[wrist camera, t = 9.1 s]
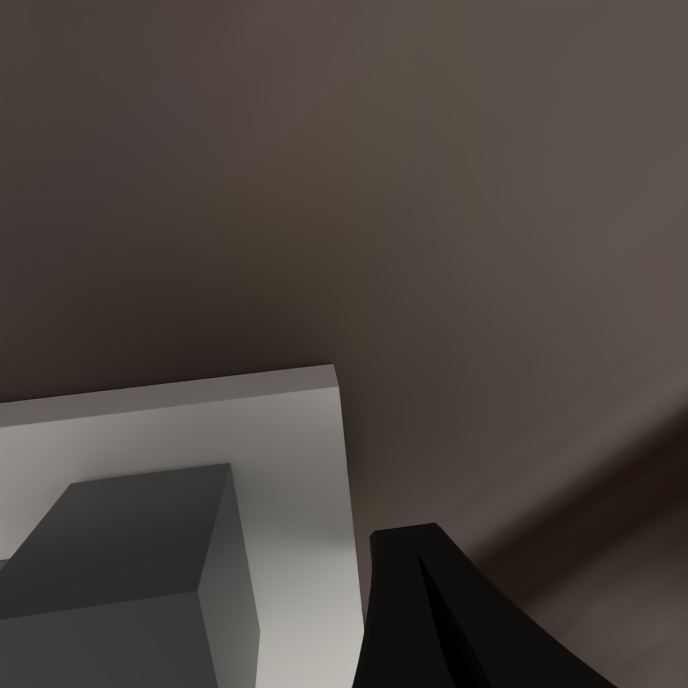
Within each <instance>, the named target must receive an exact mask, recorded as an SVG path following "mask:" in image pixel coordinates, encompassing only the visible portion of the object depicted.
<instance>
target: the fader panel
mask: <svg viewBox="0 0 688 688" xmlns="http://www.w3.org/2000/svg"><path fill="white" fill-rule="evenodd" d="M224 463H230V464H231V470H232V476H233V481H234V487H235V492H236V498H237V504H238V509H239V515H240V520H241V526H242V532H243V537H244V543H245V549H246V554H247V560H248V565H249V571H250V577H251V582H252V588H253V593H254V599H255V605H256V610H257V616H258V622H259V627H260V640H259V652H258V664H257V675H256V687H255V688H352V685H353V681H354V677H355V673H356V669H357V664H358V660H359V655H360V650H361V645H362V640H363V635H364V627H363V617H362V607H361V597H360V588H359V578H358V568H357V558H356V549H355V539H354V529H353V519H352V510H351V500H350V490H349V480H348V471H347V461H346V451H345V441H344V432H343V422H342V412H341V402H340V393H339V385H338V381H337V376H336V372H335V368H334V364H328V365H319V366H311V367H302V368H294V369H285V370H277V371H268V372H260V373H251V374H243V375H235V376H226V377H218V378H209V379H201V380H192V381H184V382H175V383H167V384H158V385H150V386H141V387H133V388H125V389H116V390H108V391H99V392H91V393H82V394H74V395H65V396H57V397H48V398H40V399H32V400H23V401H15V402H6V403H0V570H1V569H2V568H3V567H4V565H5V564H6V563H7V562H8V561H9V559H10V558H11V557H12V556H13V554H14V553H15V552H16V551H17V549H18V548H19V547H20V546H21V544H22V543H23V542H24V541H25V539H26V538H27V537H28V536H29V535H30V533H31V532H32V531H33V530H34V528H35V527H36V526H37V525H38V523H39V522H40V521H41V520H42V518H43V517H44V516H45V515H46V513H47V512H48V511H49V510H50V508H51V507H52V506H53V505H54V504H55V502H56V501H57V500H58V499H59V497H60V496H61V495H62V494H63V492H64V491H65V490H66V489H67V487H68V486H69V485H70V484H71V483H77V482H85V481H93V480H101V479H108V478H116V477H124V476H131V475H139V474H147V473H155V472H162V471H170V470H178V469H186V468H193V467H201V466H209V465H216V464H224Z"/></svg>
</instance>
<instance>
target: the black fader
mask: <svg viewBox="0 0 688 688" xmlns="http://www.w3.org/2000/svg"><path fill="white" fill-rule="evenodd" d="M259 640H260V627H259V622H258V616H257V610H256V605H255V599H254V593H253V588H252V582H251V577H250V571H249V565H248V560H247V554H246V549H245V543H244V537H243V532H242V526H241V520H240V515H239V509H238V504H237V498H236V492H235V487H234V481H233V476H232V470H231V464H230V463H224V464H216V465H209V466H201V467H193V468H186V469H178V470H170V471H162V472H155V473H147V474H139V475H131V476H124V477H116V478H108V479H101V480H93V481H85V482H77V483H71V484H70V485H69V486H68V487H67V489H66V490H65V491H64V492H63V494H62V495H61V496H60V497H59V499H58V500H57V501H56V502H55V504H54V505H53V506H52V507H51V508H50V510H49V511H48V512H47V513H46V515H45V516H44V517H43V518H42V520H41V521H40V522H39V523H38V525H37V526H36V527H35V528H34V530H33V531H32V532H31V533H30V535H29V536H28V537H27V538H26V539H25V541H24V542H23V543H22V544H21V546H20V547H19V548H18V549H17V551H16V552H15V553H14V554H13V556H12V557H11V558H10V559H9V561H8V562H7V563H6V564H5V565H4V567H3V568H2V569H1V570H0V688H255V687H256V675H257V664H258V652H259Z"/></svg>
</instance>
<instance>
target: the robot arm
mask: <svg viewBox="0 0 688 688" xmlns="http://www.w3.org/2000/svg"><path fill="white" fill-rule="evenodd" d="M369 538H370V549H371V560H372V579H371V589H370V597H369V605H368V613H367V620H366V625H365V630H364V635H363V640H362V645H361V650H360V655H359V660H358V664H357V669H356V673H355V677H354V681H353V685H352V688H618V687H616V686H615V685H613V684H612V683H610V682H609V681H608V680H607V679H605V678H604V677H603V676H601V675H600V674H599V673H597V672H596V671H595V670H593V669H592V668H591V667H589V666H588V665H587V664H585V663H584V662H583V661H582V660H580V659H579V658H578V657H576V656H575V655H574V654H573V653H571V652H570V651H569V650H568V649H566V648H565V647H564V646H563V645H562V644H560V643H559V642H558V641H557V640H556V639H554V638H553V637H552V636H551V635H550V634H548V633H547V632H546V631H545V630H544V629H543V628H542V627H540V626H539V625H538V624H537V623H536V622H535V621H533V620H532V619H531V618H530V617H529V616H528V615H527V614H526V613H524V612H523V611H522V610H521V609H520V608H519V607H518V606H517V605H516V604H515V603H513V602H512V601H511V600H510V599H509V598H508V597H507V596H506V595H505V594H504V593H503V592H502V591H501V590H500V589H499V588H498V587H497V586H496V585H495V584H494V583H493V582H492V581H491V580H490V579H488V578H487V576H486V575H485V574H484V573H483V572H482V571H481V570H480V569H479V568H478V567H477V566H476V565H475V564H474V563H473V562H472V561H471V560H470V559H469V558H468V557H467V556H466V555H465V554H464V553H463V552H462V551H461V549H460V548H459V547H458V546H457V545H456V544H455V543H454V542H453V541H452V540H451V539H450V537H449V536H448V535H447V534H446V533H445V532H444V531H443V529H442V528H441V527H440V526H438V525H437V524H436V523H429V524H421V525H414V526H407V527H400V528H393V529H385V530H378V531H374V532H373V533H372V534H371V536H370V537H369Z"/></svg>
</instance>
